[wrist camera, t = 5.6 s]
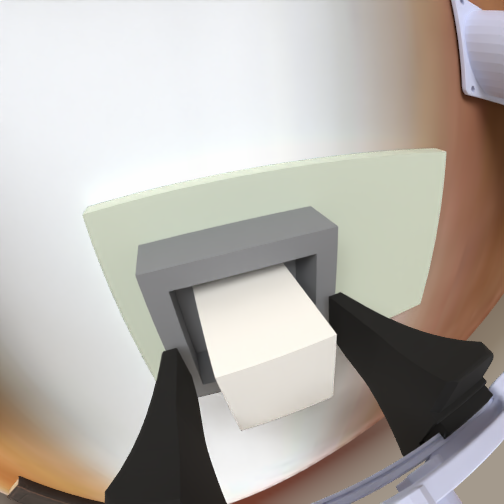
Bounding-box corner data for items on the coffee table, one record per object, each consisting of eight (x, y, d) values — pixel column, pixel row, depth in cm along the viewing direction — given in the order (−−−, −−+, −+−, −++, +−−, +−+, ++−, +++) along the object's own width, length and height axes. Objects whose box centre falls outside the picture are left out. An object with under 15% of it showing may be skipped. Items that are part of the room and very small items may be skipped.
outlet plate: (435, 148, 16) (476, 162, 13) (412, 296, 22) (439, 321, 19) (87, 206, 12) (66, 239, 9) (160, 379, 18) (166, 423, 15)
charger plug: (272, 249, 14) (336, 334, 9) (281, 312, 16) (332, 396, 11) (189, 274, 13) (214, 377, 8) (211, 335, 15) (241, 430, 10)
